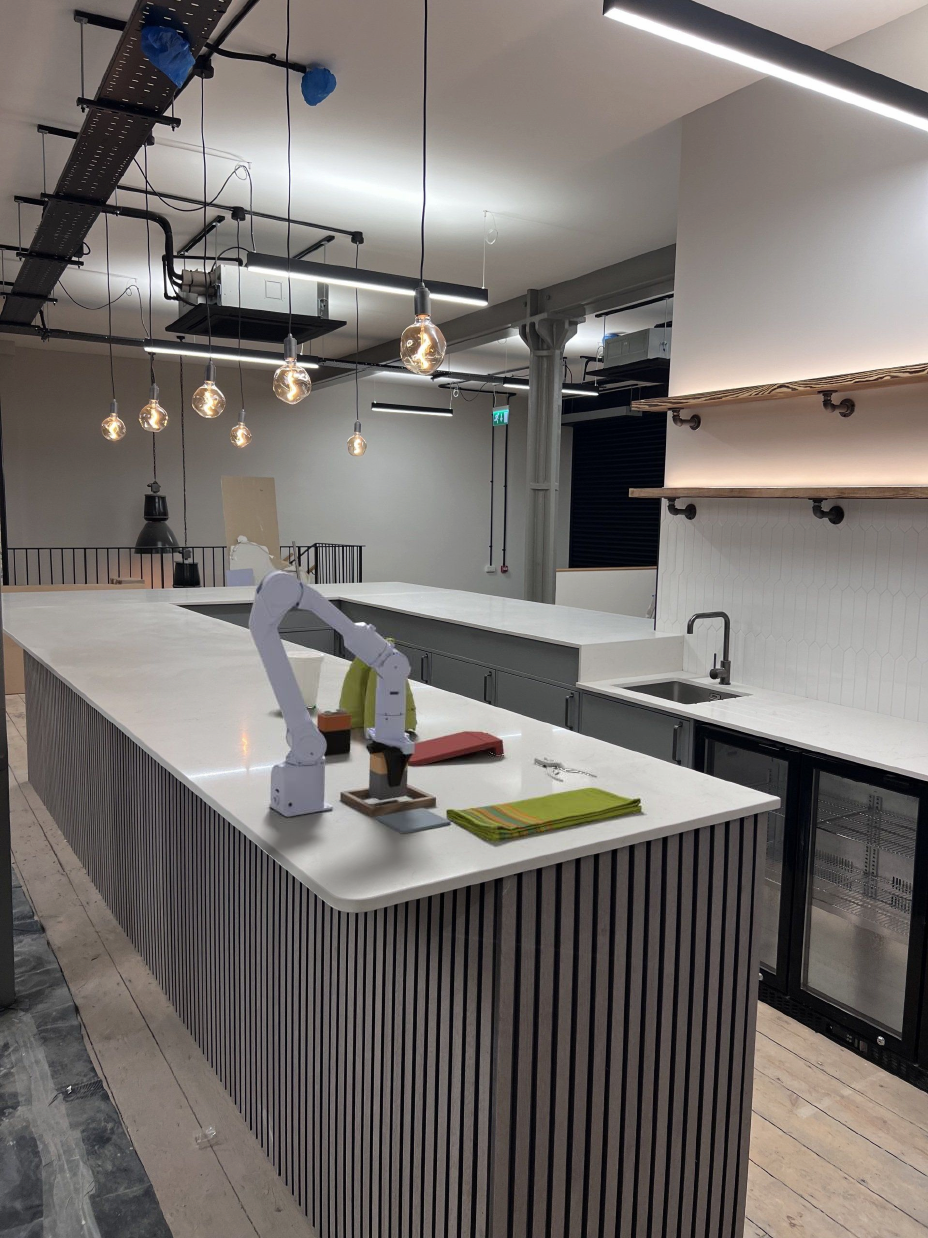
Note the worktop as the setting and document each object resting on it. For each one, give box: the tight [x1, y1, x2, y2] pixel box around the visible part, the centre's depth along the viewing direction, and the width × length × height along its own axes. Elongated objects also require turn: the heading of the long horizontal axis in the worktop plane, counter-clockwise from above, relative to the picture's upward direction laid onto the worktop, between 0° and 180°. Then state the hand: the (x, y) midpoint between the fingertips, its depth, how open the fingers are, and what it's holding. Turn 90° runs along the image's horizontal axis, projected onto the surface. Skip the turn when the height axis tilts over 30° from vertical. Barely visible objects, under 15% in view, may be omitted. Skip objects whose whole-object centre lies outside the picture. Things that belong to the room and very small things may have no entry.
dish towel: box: [445, 787, 642, 843], centre depth 165 cm, size 15×36×3 cm, turn 124°
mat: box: [375, 807, 452, 835], centre depth 159 cm, size 10×9×1 cm
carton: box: [408, 730, 505, 767], centre depth 207 cm, size 12×5×25 cm
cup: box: [285, 651, 325, 708], centre depth 257 cm, size 12×12×15 cm
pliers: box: [533, 756, 597, 782], centre depth 197 cm, size 10×2×15 cm
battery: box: [316, 708, 352, 756], centre depth 205 cm, size 4×7×10 cm, turn 126°
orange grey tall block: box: [368, 752, 409, 801], centre depth 169 cm, size 6×4×8 cm, turn 126°
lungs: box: [338, 637, 418, 739], centre depth 230 cm, size 25×16×24 cm, turn 33°
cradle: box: [339, 783, 437, 818], centre depth 169 cm, size 14×12×2 cm
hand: (388, 783), depth 169 cm, fingers closed on orange grey tall block, 4 cm apart
